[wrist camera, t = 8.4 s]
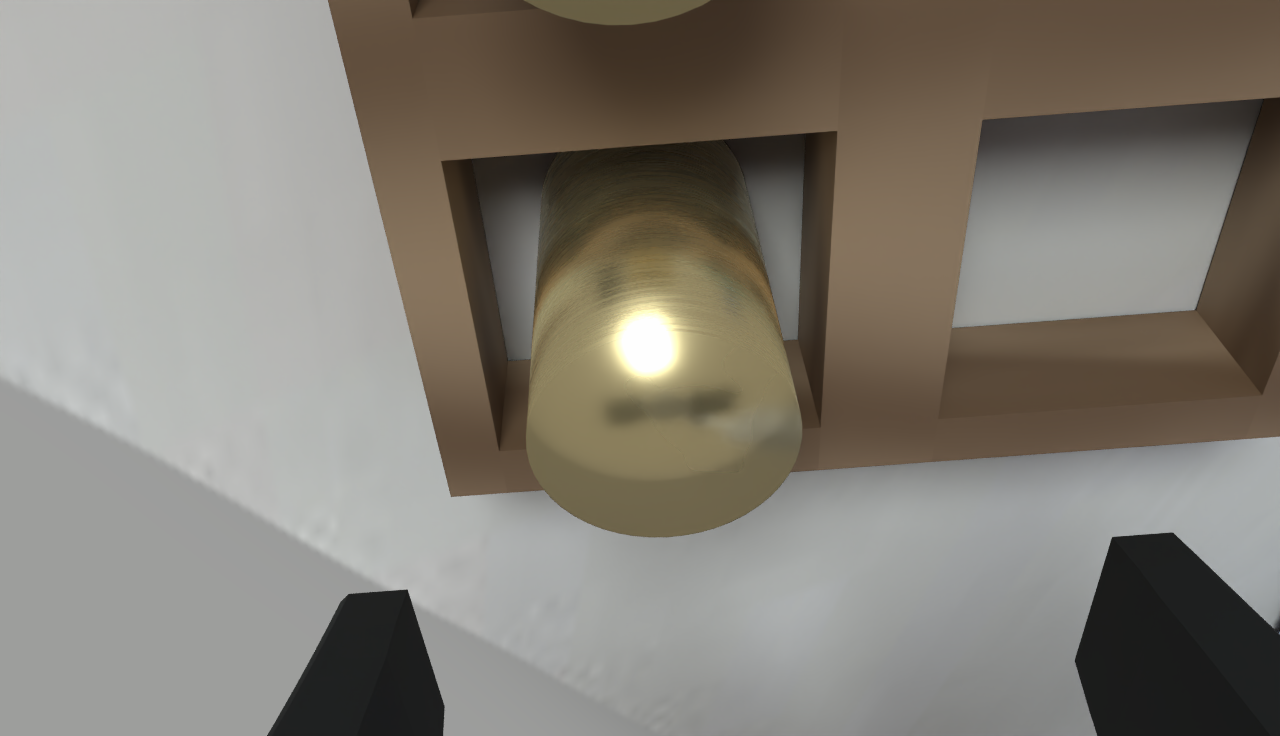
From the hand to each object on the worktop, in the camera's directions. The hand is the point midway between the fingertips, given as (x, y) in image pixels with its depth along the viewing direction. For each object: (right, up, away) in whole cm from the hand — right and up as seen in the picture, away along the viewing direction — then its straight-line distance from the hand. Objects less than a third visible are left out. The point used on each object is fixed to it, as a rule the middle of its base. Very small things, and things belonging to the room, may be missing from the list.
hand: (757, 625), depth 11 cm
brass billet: (-1, +6, +7) cm, 9 cm away
